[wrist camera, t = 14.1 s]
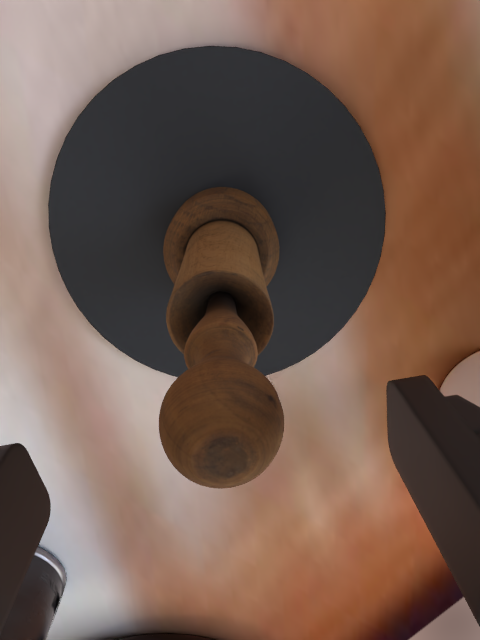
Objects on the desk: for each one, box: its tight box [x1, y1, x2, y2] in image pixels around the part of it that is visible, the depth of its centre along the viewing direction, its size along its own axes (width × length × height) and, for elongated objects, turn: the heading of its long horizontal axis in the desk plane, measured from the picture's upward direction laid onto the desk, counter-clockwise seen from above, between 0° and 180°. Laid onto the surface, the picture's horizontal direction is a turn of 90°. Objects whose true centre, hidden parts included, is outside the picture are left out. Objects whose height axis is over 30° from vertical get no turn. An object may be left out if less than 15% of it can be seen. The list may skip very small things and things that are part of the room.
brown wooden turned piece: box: [159, 187, 284, 488], centre depth 17 cm, size 7×6×18 cm
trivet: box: [48, 46, 386, 377], centre depth 26 cm, size 20×20×1 cm
